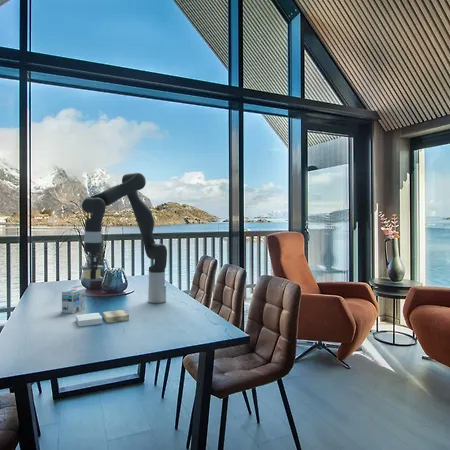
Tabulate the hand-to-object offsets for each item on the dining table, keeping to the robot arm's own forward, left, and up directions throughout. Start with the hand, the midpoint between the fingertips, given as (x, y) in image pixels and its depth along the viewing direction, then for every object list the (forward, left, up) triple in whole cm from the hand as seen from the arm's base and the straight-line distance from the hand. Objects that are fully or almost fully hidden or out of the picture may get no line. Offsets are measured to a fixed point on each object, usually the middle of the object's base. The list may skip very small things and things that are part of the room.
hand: (91, 278), depth 162 cm
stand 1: (+1, 0, -20) cm, 20 cm away
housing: (0, 0, -1) cm, 1 cm away
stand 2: (-11, 0, -20) cm, 23 cm away
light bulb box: (+5, -24, -21) cm, 32 cm away
